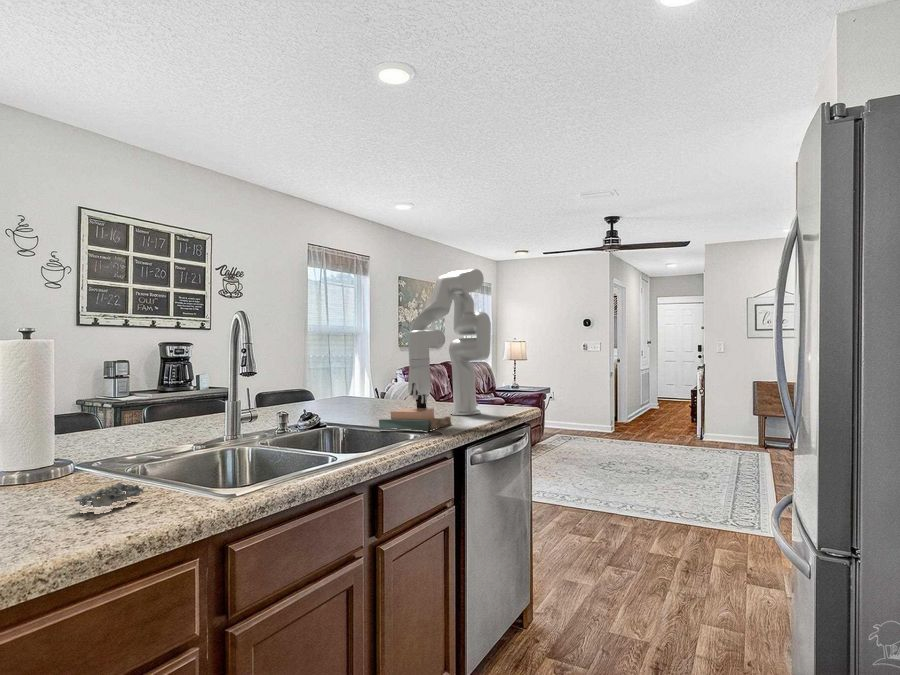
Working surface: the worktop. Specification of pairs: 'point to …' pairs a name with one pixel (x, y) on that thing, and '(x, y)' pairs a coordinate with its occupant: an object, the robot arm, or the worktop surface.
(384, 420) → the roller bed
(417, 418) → the clay slab
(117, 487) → the grey rough flat piece
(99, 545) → the worktop surface
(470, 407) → the robot arm
